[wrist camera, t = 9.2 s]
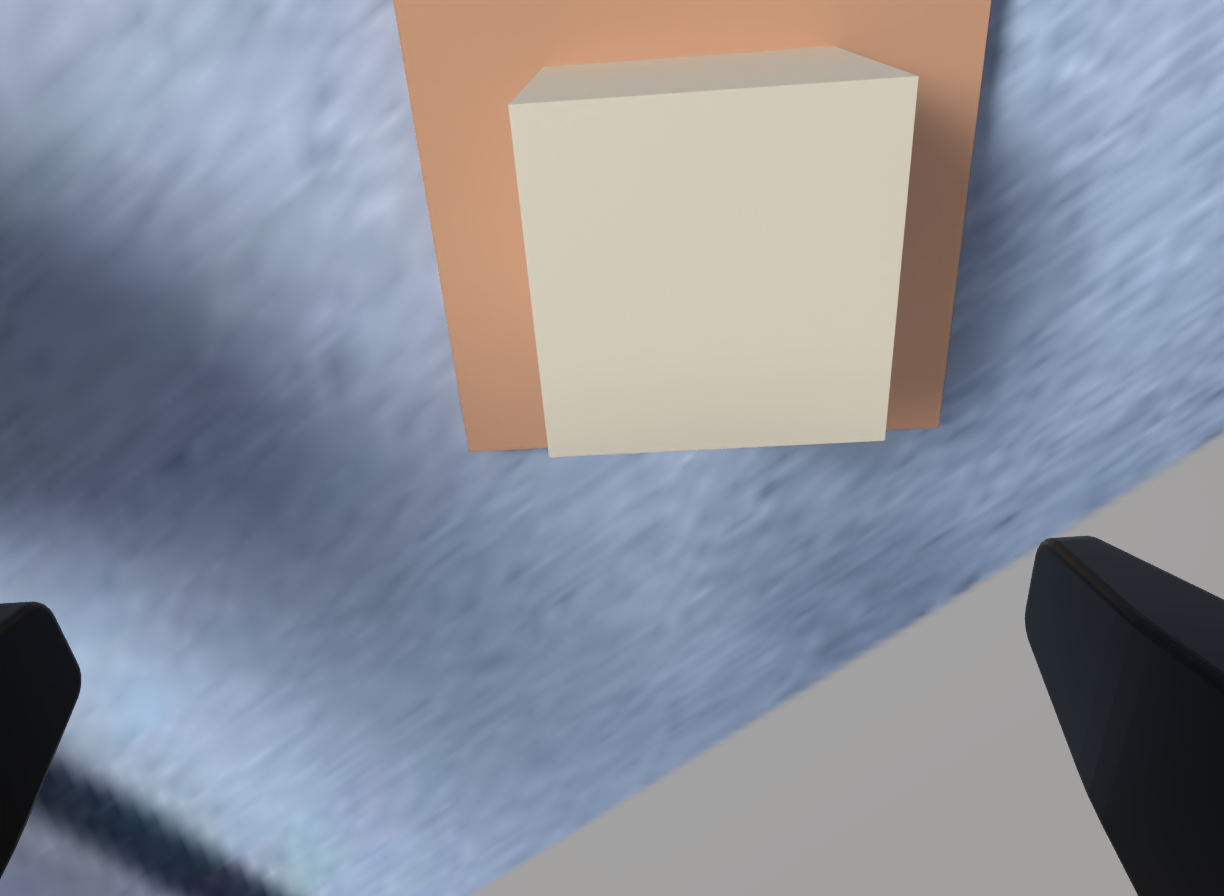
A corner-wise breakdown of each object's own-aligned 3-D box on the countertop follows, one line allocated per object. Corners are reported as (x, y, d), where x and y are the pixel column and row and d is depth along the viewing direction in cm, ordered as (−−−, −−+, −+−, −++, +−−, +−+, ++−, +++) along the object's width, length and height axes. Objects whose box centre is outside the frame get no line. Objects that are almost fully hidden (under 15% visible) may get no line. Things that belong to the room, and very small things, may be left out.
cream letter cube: (569, 336, 18) (549, 457, 13) (543, 66, 15) (508, 104, 11) (826, 321, 17) (893, 440, 13) (841, 45, 15) (929, 75, 11)
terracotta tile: (474, 435, 20) (469, 451, 19) (390, -86, 15) (378, -90, 14) (926, 410, 19) (938, 427, 18) (990, -136, 14) (1008, -142, 14)
